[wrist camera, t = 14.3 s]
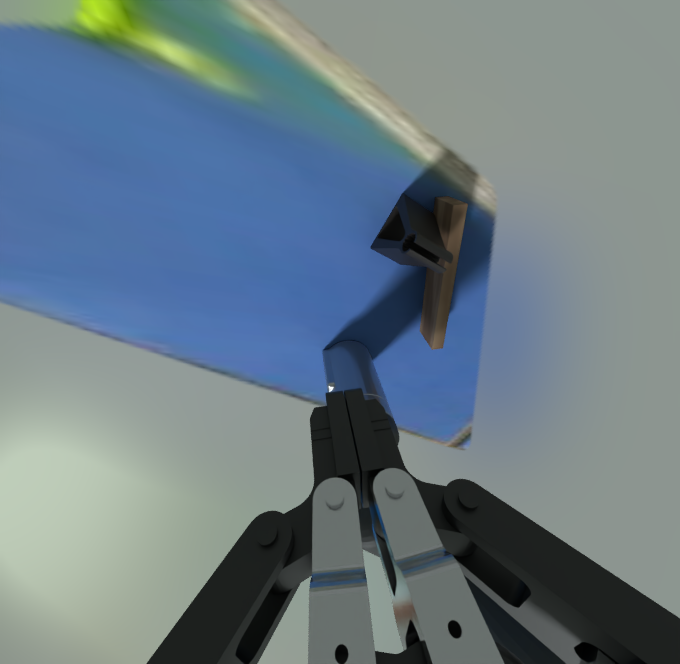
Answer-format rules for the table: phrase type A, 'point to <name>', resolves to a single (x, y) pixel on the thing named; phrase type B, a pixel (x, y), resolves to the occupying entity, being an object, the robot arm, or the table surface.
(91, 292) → the table surface
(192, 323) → the table surface
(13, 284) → the table surface
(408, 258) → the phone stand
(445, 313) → the board
